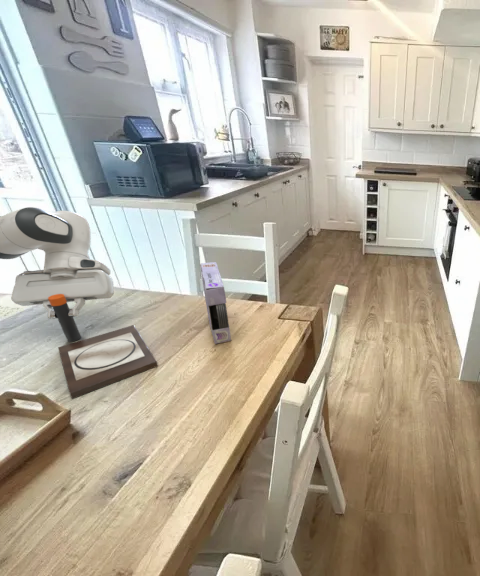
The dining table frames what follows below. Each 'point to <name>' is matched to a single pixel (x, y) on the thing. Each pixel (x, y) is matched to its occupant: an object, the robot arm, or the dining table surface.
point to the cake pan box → (215, 302)
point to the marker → (64, 317)
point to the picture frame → (104, 360)
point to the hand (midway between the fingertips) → (63, 317)
